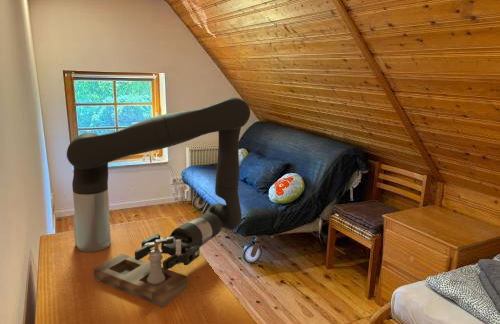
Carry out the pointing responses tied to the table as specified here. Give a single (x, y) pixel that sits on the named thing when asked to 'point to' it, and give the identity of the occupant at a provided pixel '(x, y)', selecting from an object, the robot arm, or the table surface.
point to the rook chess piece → (155, 270)
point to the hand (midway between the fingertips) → (149, 261)
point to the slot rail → (140, 279)
